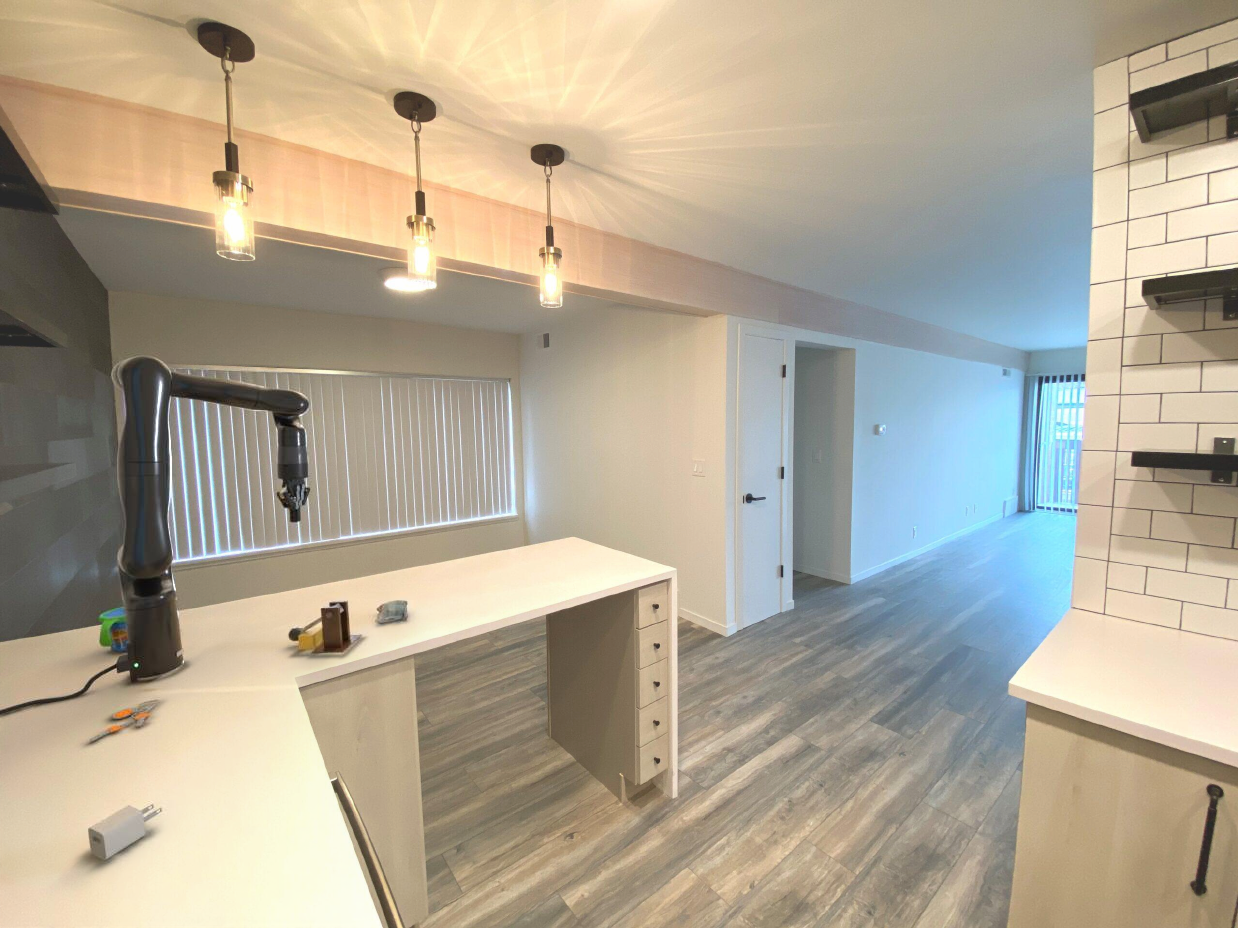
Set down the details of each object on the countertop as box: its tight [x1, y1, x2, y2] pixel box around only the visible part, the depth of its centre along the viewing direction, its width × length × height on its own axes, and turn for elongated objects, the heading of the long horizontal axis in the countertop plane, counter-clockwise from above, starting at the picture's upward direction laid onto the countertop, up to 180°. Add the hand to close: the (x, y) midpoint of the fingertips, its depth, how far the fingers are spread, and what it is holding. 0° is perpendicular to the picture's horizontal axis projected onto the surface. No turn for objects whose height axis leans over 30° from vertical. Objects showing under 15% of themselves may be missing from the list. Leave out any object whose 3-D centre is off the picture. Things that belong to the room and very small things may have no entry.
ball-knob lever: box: [287, 603, 344, 642], centre depth 132 cm, size 15×4×4 cm, turn 91°
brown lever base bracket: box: [310, 600, 362, 654], centre depth 132 cm, size 8×10×12 cm
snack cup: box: [98, 606, 128, 653], centre depth 135 cm, size 16×10×10 cm
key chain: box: [88, 699, 161, 742], centre depth 102 cm, size 13×7×1 cm, turn 20°
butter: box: [298, 626, 323, 651], centre depth 133 cm, size 5×8×5 cm, turn 2°
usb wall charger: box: [87, 803, 163, 861], centre depth 73 cm, size 4×7×4 cm, turn 159°
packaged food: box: [374, 599, 408, 624], centre depth 151 cm, size 9×12×5 cm
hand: (295, 521), depth 145 cm, fingers closed
